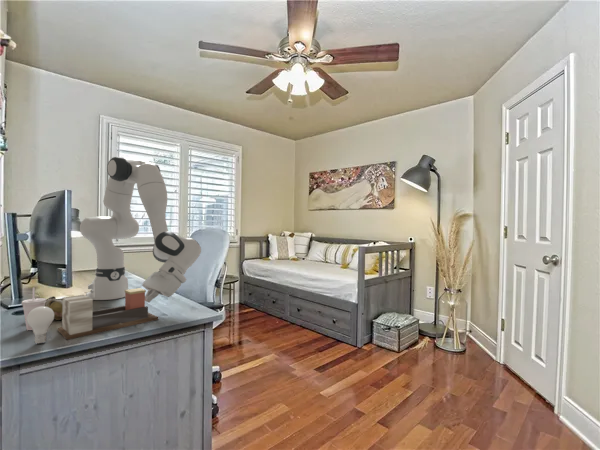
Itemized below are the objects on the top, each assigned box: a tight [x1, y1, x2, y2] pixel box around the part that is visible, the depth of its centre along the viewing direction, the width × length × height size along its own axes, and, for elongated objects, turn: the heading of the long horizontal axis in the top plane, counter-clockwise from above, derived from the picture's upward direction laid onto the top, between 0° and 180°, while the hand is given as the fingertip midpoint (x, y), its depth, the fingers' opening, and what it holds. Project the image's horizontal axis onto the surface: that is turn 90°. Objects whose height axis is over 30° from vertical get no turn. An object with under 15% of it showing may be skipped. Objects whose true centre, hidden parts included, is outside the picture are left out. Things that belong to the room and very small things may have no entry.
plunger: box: [124, 287, 147, 310], centre depth 117 cm, size 5×5×10 cm
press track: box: [57, 294, 159, 341], centre depth 111 cm, size 12×28×11 cm, turn 138°
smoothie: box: [21, 287, 47, 331], centre depth 106 cm, size 6×6×14 cm
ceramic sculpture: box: [45, 296, 63, 321], centre depth 117 cm, size 11×9×15 cm
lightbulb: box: [27, 306, 55, 345], centre depth 93 cm, size 6×6×11 cm
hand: (145, 301), depth 119 cm, fingers closed
